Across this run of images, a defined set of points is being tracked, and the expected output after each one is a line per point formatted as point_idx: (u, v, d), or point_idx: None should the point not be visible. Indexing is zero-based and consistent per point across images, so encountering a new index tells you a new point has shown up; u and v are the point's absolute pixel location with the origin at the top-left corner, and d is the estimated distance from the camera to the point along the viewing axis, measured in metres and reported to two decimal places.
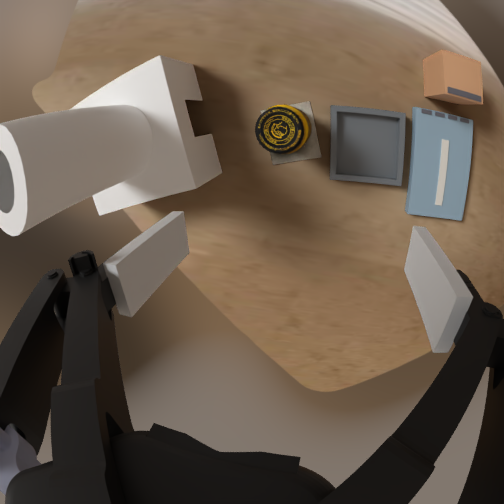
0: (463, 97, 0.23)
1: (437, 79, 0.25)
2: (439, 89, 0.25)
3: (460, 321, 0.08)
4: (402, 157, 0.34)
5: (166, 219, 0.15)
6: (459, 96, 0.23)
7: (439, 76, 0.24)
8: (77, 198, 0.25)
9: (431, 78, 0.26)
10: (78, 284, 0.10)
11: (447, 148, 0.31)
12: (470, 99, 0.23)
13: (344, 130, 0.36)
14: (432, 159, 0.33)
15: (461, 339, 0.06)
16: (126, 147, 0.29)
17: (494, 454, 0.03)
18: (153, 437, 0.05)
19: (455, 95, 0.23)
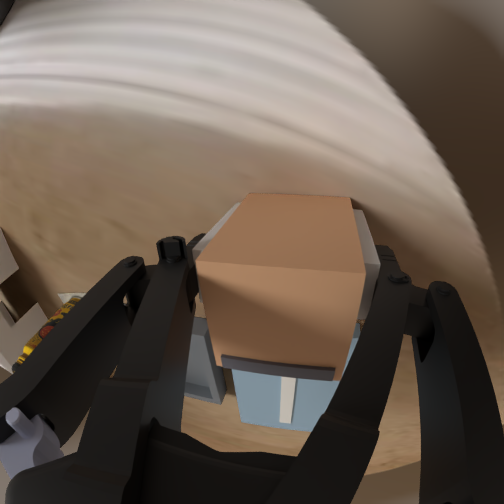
0: None
1: None
2: None
3: (372, 288, 0.10)
4: (213, 382, 0.25)
5: (235, 209, 0.16)
6: None
7: None
8: None
9: None
10: (162, 270, 0.10)
11: None
12: None
13: None
14: (266, 386, 0.24)
15: (371, 309, 0.08)
16: None
17: (441, 428, 0.05)
18: (153, 437, 0.05)
19: None
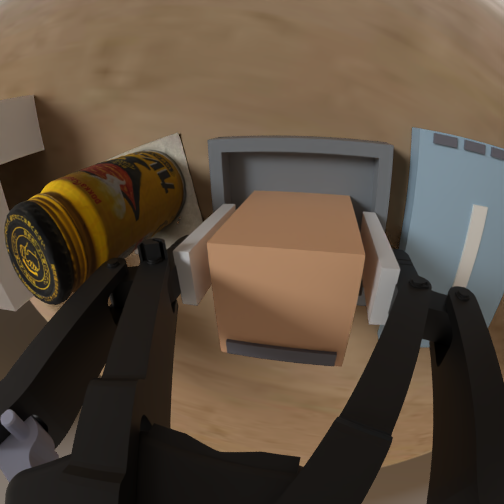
0: None
1: None
2: None
3: (391, 293, 0.10)
4: None
5: (220, 211, 0.16)
6: None
7: None
8: None
9: None
10: (144, 272, 0.10)
11: (482, 224, 0.14)
12: None
13: (248, 190, 0.18)
14: (446, 249, 0.15)
15: (391, 313, 0.08)
16: None
17: (454, 432, 0.04)
18: (153, 437, 0.05)
19: None
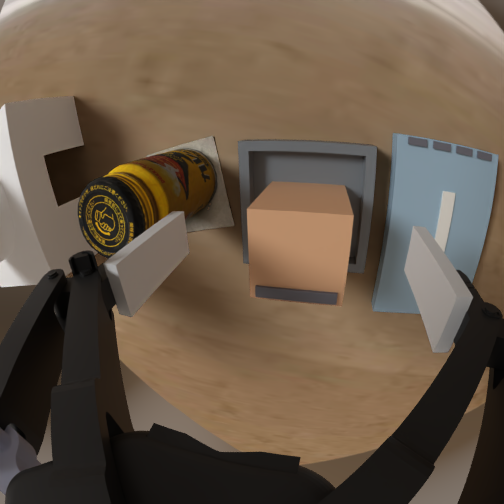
0: (292, 300, 0.18)
1: None
2: None
3: (460, 321, 0.08)
4: (368, 227, 0.21)
5: (166, 219, 0.15)
6: (282, 299, 0.18)
7: None
8: None
9: None
10: (78, 284, 0.10)
11: (451, 207, 0.19)
12: (309, 302, 0.18)
13: (267, 181, 0.23)
14: (422, 226, 0.20)
15: (461, 339, 0.06)
16: None
17: (494, 454, 0.03)
18: (153, 437, 0.05)
19: (273, 298, 0.18)
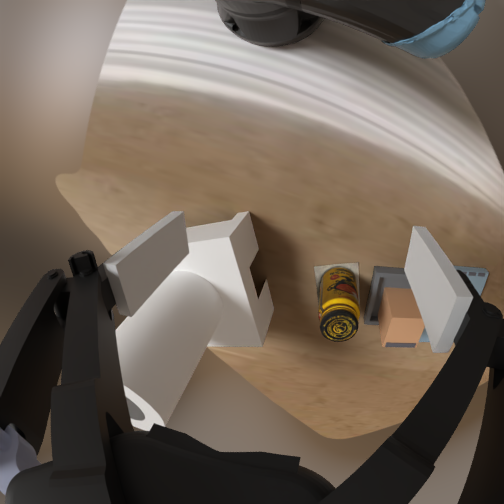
0: (398, 346, 0.39)
1: (384, 326, 0.40)
2: (382, 335, 0.41)
3: (460, 321, 0.08)
4: None
5: (166, 219, 0.15)
6: (395, 346, 0.39)
7: (385, 328, 0.40)
8: None
9: (383, 316, 0.42)
10: (78, 284, 0.10)
11: None
12: None
13: (382, 287, 0.44)
14: None
15: (461, 339, 0.06)
16: (209, 335, 0.36)
17: (494, 454, 0.03)
18: (153, 437, 0.05)
19: (391, 346, 0.39)
